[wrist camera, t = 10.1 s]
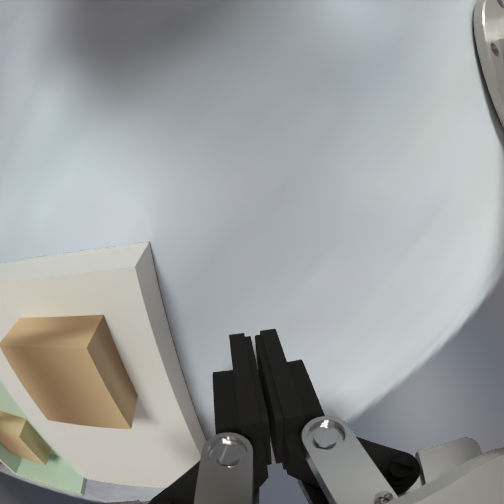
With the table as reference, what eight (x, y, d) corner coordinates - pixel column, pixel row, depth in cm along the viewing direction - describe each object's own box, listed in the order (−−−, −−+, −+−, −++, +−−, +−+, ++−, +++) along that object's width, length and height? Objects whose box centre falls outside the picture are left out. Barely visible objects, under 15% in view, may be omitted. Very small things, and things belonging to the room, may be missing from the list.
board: (149, 241, 11) (135, 266, 9) (214, 461, 18) (216, 487, 16) (-22, 266, 10) (-47, 286, 8) (90, 456, 17) (85, 478, 15)
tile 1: (103, 314, 10) (86, 347, 8) (137, 395, 11) (131, 429, 9) (20, 317, 9) (-2, 344, 7) (59, 391, 11) (47, 420, 9)
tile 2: (-16, 423, 12) (-8, 408, 14) (10, 453, 14) (16, 438, 15) (19, 436, 12) (26, 418, 14) (46, 465, 14) (51, 448, 16)
